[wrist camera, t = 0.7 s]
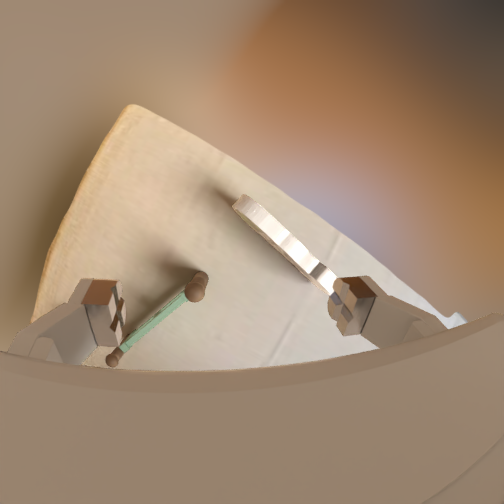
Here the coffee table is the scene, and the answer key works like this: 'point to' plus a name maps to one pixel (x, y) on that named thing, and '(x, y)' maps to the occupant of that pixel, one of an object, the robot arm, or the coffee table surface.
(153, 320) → the gate
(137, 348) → the coffee table surface
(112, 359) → the gate posts
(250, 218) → the cutout
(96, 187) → the coffee table surface
